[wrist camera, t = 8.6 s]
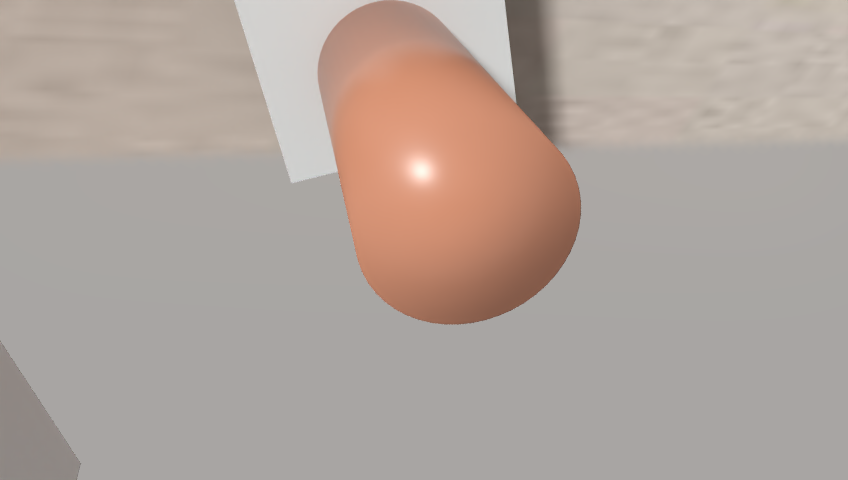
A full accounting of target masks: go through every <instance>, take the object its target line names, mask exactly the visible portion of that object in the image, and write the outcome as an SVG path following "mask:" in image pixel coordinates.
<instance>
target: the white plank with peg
mask: <svg viewBox="0 0 848 480" xmlns="http://www.w3.org/2000/svg"><path fill="white" fill-rule="evenodd" d="M234 1H235V4H236V7H237V11H238V14H239V17H240V20H241V23H242V27H243V30H244V33H245V36H246V39H247V43H248V46H249V49H250V52H251V55H252V59H253V62H254V65H255V68H256V71H257V75H258V78H259V81H260V84H261V87H262V91H263V94H264V97H265V100H266V103H267V107H268V110H269V113H270V116H271V119H272V123H273V126H274V129H275V132H276V136H277V139H278V142H279V145H280V148H281V152H282V155H283V158H284V161H285V164H286V167H287V171H288V174H289V177H290V180H291V183H294V182H298V181H302V180H306V179H310V178H314V177H318V176H322V175H326V174H330V173H334V172H338V174H339V178H340V183H341V187H342V192H343V196H344V201H345V205H346V209H347V214H348V219H349V223H350V227H351V232H352V236H353V241H354V245H355V250H356V254H357V258H358V262H359V264H360V267H361V270H362V272H363V274H364V276H365V278H366V280H367V281H368V283H369V285H370V286H371V287H372V288H373V290H374V291H375V292H376V293H377V294H378V295H379V296H380V297H381V298H382V299H383V300H384V301H385V302H386V303H387V304H389V305H390V306H392V307H393V308H394V309H396V310H398V311H400V312H402V313H403V314H405V315H407V316H411V317H413V318H415V319H418V320H422V321H427V322H430V323H438V324H466V323H474V322H478V321H483V320H487V319H490V318H493V317H496V316H499V315H501V314H504V313H506V312H508V311H511V310H513V309H514V308H516V307H518V306H519V305H521V304H523V303H524V302H526V301H527V300H529V299H530V298H532V297H533V296H534V295H536V294H537V293H538V292H539V291H540V290H541V289H542V288H544V287H545V286H546V285H547V284H548V283H549V282H550V280H551V279H552V278H553V277H554V276H555V275H556V274H557V272H558V271H559V269H560V268H561V267H562V265H563V264H564V262H565V261H566V258H567V257H568V255H569V254H570V252H571V249H572V247H573V244H574V242H575V240H576V236H577V232H578V229H579V223H580V216H581V200H580V192H579V188H578V184H577V181H576V178H575V175H574V173H573V171H572V169H571V167H570V165H569V163H568V162H567V160H566V159H565V157H564V156H563V155H562V153H561V152H560V151H559V150H558V149H557V148H556V147H555V146H554V145H553V143H552V142H551V141H550V140H549V139H548V138H547V137H546V136H545V135H544V134H543V133H542V131H541V130H540V129H539V128H538V127H537V126H536V125H535V124H534V123H533V122H532V120H531V119H530V118H529V117H528V116H527V115H526V114H525V113H524V112H523V111H522V110H521V108H520V107H519V106H518V105H517V104H516V96H515V87H514V78H513V69H512V61H511V52H510V43H509V34H508V26H507V17H506V8H505V0H234Z"/></svg>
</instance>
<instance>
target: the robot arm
mask: <svg viewBox="0 0 848 480" xmlns="http://www.w3.org/2000/svg"><path fill="white" fill-rule="evenodd" d="M79 468H80V462H79V460H78V459H77V457H76V456H75V454H74V453H73V451H72V450H71V448H70V447H69V445H68V443H67V442H66V441H65V439H64V437H63V436H62V434H61V433H60V431H59V430H58V428H57V427H56V426H55V424H54V423H53V421H52V419H51V418H50V416H49V415H48V413H47V411H46V410H45V408H44V407H43V405H42V404H41V402H40V401H39V399H38V398H37V396H36V395H35V393H34V392H33V390H32V389H31V387H30V386H29V384H28V383H27V381H26V380H25V378H24V376H23V375H22V373H21V372H20V370H19V369H18V367H17V366H16V364H15V363H14V361H13V360H12V358H11V357H10V355H9V354H8V352H7V350H6V349H5V347H4V346H3V345H2V343H1V341H0V480H77V476H78V472H79Z"/></svg>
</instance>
